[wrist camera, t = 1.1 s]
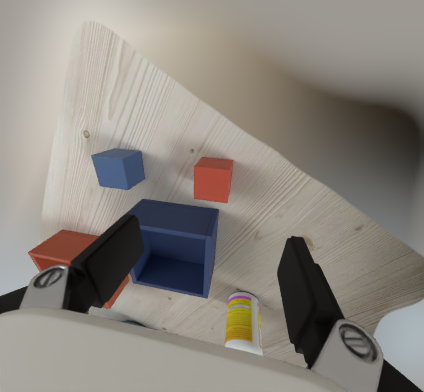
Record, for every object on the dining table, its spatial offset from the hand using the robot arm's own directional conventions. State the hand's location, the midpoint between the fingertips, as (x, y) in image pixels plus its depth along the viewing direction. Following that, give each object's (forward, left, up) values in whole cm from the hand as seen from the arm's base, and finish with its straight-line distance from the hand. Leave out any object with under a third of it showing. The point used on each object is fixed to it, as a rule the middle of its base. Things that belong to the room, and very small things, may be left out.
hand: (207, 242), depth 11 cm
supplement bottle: (+6, -30, -16) cm, 35 cm away
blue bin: (-8, -14, -16) cm, 23 cm away
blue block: (-16, -1, -16) cm, 22 cm away
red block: (-2, -1, -16) cm, 16 cm away
